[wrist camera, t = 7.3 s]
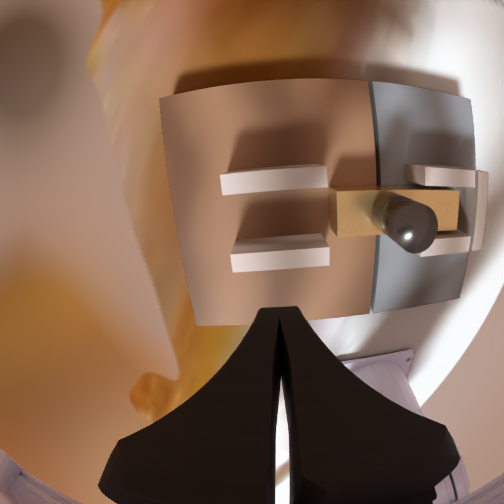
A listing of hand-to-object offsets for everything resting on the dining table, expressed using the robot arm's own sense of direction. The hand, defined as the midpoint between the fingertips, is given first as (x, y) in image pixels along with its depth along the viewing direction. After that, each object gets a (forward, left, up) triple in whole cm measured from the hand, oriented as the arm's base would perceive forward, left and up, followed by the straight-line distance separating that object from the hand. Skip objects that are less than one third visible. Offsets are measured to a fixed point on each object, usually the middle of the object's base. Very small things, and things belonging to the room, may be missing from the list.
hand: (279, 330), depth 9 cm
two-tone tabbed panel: (+3, -4, -9) cm, 11 cm away
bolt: (+3, -7, -7) cm, 11 cm away
